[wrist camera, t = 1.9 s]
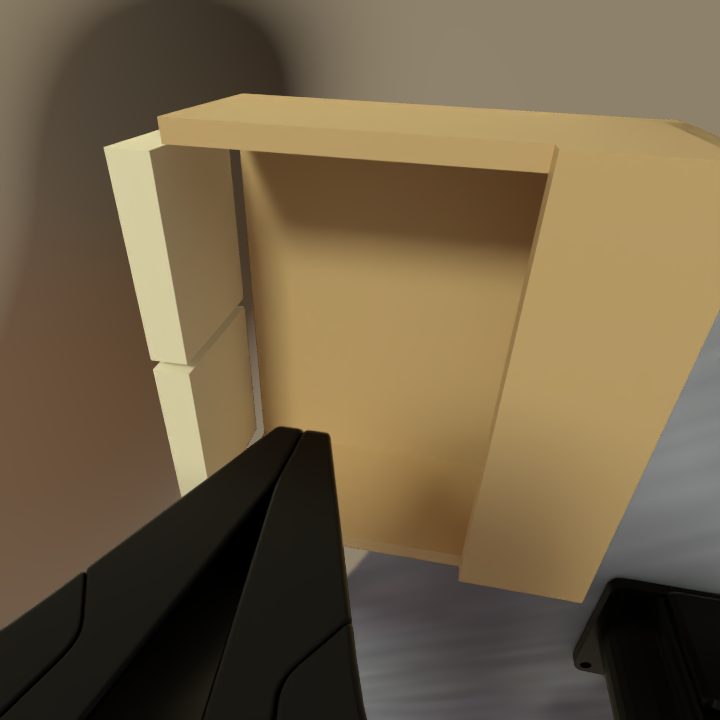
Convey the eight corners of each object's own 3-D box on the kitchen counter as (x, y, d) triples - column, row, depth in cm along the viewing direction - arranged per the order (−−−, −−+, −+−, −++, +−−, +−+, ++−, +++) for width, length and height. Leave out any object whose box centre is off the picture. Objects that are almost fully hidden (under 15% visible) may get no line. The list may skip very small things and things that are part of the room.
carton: (557, 477, 19) (581, 603, 15) (269, 434, 20) (217, 537, 16) (679, 120, 12) (786, 165, 8) (242, 93, 14) (143, 119, 10)
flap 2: (256, 428, 19) (212, 509, 16) (231, 424, 20) (183, 504, 16) (244, 306, 17) (189, 374, 13) (215, 303, 17) (153, 369, 13)
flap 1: (243, 298, 16) (187, 365, 13) (214, 294, 17) (150, 360, 13) (226, 122, 14) (149, 150, 10) (191, 120, 14) (103, 147, 10)
